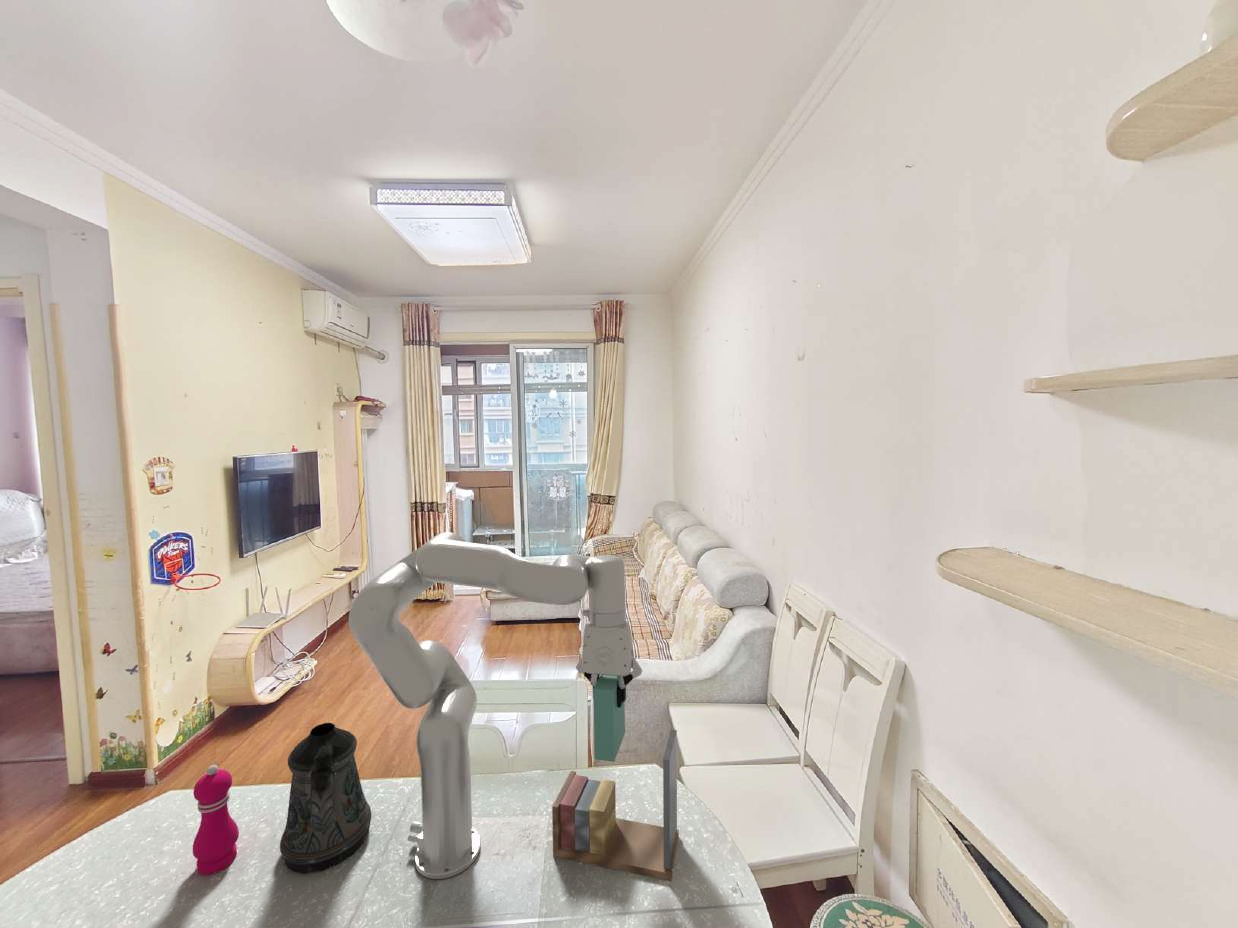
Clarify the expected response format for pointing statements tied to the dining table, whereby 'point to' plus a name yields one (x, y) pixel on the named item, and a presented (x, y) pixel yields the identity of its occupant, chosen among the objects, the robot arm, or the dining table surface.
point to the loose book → (607, 718)
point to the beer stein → (324, 802)
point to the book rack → (605, 831)
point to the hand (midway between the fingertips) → (609, 702)
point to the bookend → (670, 798)
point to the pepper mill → (214, 822)
